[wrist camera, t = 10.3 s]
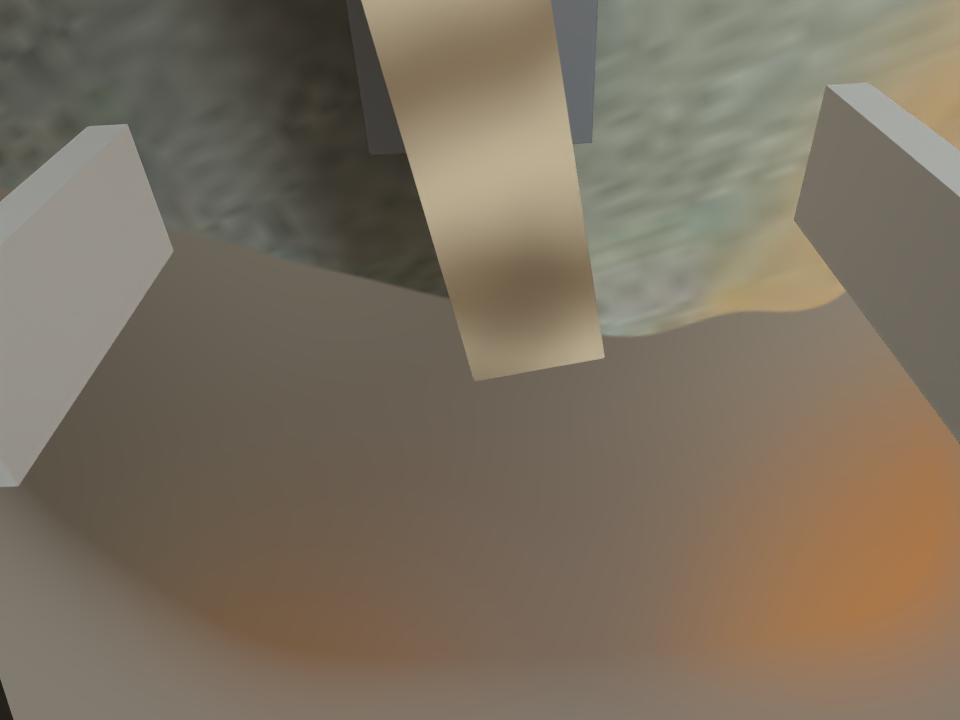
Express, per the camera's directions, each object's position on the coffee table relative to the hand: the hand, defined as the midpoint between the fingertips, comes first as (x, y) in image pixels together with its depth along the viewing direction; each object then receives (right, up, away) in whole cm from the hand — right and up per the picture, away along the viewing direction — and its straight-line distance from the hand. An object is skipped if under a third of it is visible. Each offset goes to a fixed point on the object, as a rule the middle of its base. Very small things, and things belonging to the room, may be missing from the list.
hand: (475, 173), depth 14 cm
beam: (0, +8, +11) cm, 13 cm away
